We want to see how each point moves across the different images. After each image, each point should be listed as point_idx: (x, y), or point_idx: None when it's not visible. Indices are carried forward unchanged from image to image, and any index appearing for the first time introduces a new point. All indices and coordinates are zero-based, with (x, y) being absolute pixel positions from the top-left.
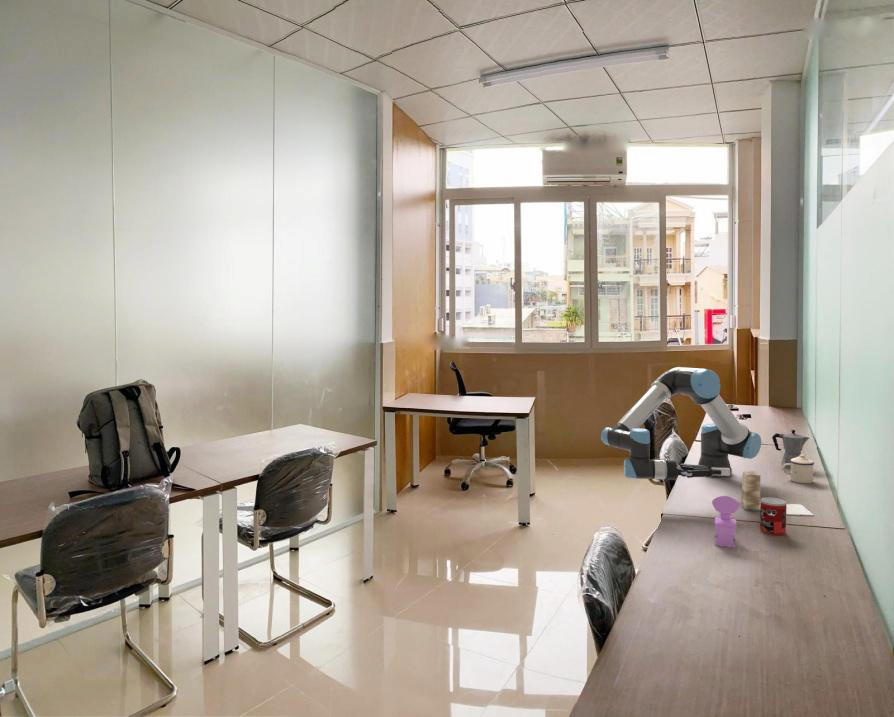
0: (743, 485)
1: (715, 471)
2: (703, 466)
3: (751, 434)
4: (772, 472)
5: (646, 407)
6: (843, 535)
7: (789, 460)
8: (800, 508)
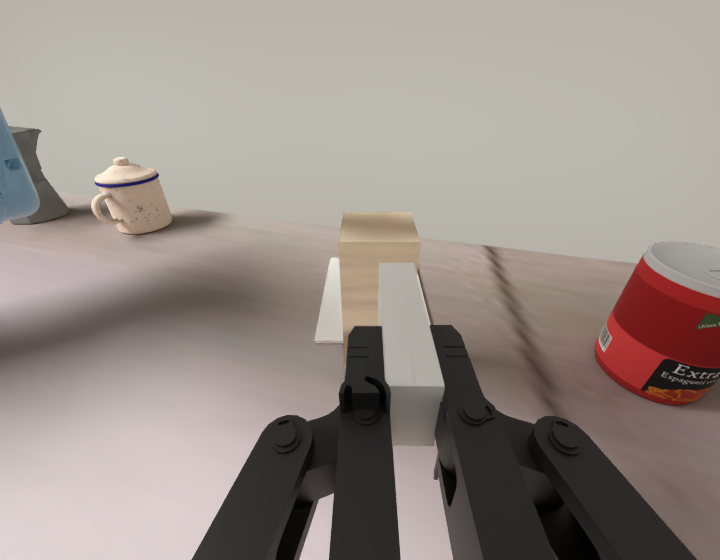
0: (366, 308)
1: (474, 379)
2: (292, 489)
3: None
4: (40, 244)
5: None
6: (539, 254)
7: None
8: None
